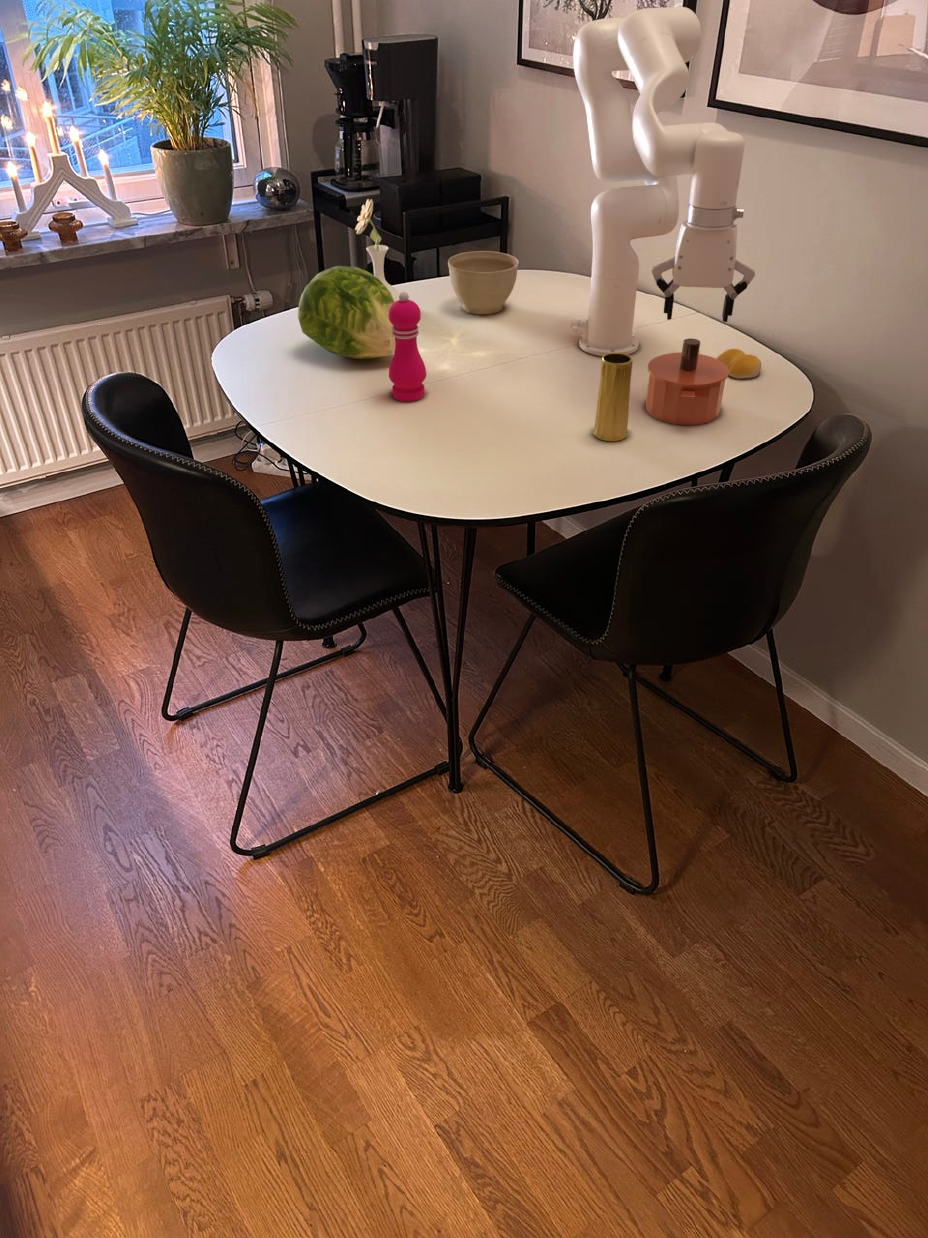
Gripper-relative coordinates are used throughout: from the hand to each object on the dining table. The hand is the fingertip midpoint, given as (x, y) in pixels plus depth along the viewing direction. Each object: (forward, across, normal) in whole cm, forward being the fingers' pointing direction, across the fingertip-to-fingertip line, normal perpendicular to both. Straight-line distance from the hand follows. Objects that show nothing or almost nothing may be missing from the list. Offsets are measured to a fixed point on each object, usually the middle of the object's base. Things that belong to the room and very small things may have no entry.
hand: (696, 318), depth 164 cm
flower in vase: (+16, +69, -45) cm, 84 cm away
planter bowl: (+17, +45, -49) cm, 69 cm away
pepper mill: (+17, +53, 0) cm, 56 cm away
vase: (+18, +13, +12) cm, 25 cm away
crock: (+17, 0, 0) cm, 17 cm away
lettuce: (+17, +68, -19) cm, 73 cm away
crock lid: (+10, 0, 0) cm, 10 cm away
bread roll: (+17, -11, -20) cm, 29 cm away
